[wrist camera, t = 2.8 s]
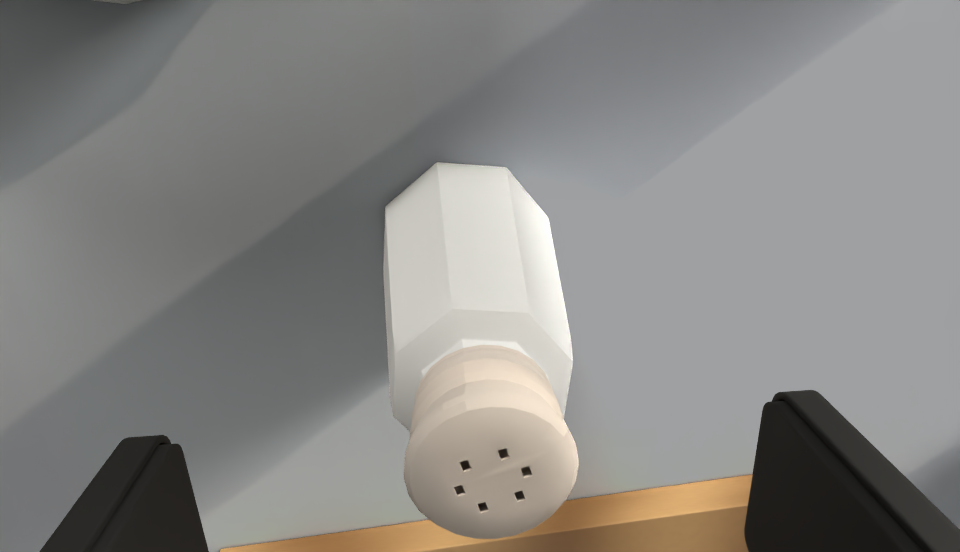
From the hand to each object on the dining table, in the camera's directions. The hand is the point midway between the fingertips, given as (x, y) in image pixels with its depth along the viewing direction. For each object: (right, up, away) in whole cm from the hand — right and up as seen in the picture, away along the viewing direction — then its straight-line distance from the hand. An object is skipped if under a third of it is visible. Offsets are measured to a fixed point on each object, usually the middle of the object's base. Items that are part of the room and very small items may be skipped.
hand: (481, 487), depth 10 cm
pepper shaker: (0, +5, +10) cm, 11 cm away
